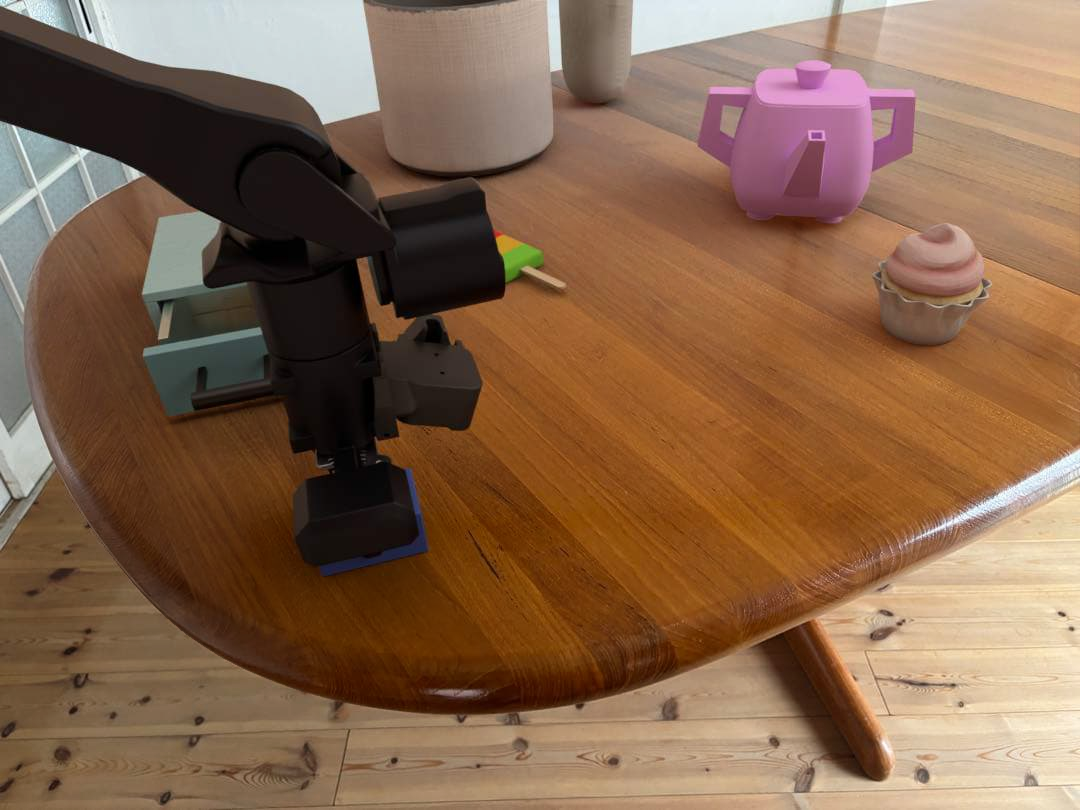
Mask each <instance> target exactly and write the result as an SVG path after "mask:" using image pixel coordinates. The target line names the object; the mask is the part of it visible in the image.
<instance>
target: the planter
mask: <svg viewBox="0 0 1080 810" xmlns="http://www.w3.org/2000/svg"><path fill="white" fill-rule="evenodd" d="M362 4H363V5H362V6H363V11H364V18H365V22H366V29H367V35H368V41H369V46H370V54H371V59H372V66H373V72H374V79H375V85H376V92H377V100H378V107H379V112H380V119H381V125H382V130H383V138H384V143H385V147H386V149H387V153H388V155H389V156H390V158H391V159H393V160H394V161H396V162H397V163H398V164H400V165H401V166H403V167H405V168H407V169H409V170H411V171H414V172H417V173H421V174H425V175H429V176H435V177H436V176H437V177H447V178H468V177H478V176H485V175H490V174H497V173H502V172H506V171H509V170H511V169H515V168H518V167H521V166H523V165H525V164H527V163H529V162H531V161H532V160H534V159H535V158H537V157H539V156H540V155H541V154H542V153H543V152H544V151H546V150H547V148H548V147H550V145H551V143H552V142H553V139H554V124H555V123H554V108H553V107H554V105H553V90H552V89H553V87H552V72H551V71H552V70H551V54H550V38H549V37H550V36H549V19H548V17H549V16H548V0H362Z"/></svg>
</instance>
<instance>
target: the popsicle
mask: <svg viewBox="0 0 1080 810" xmlns="http://www.w3.org/2000/svg"><path fill="white" fill-rule="evenodd" d="M493 230H494V233H495V237H496V242H497V246H498V251H499V252H500V254H501V255H502V257H503V260H504V265H505V278H506V284H507V283H510V282H511V281H513V280H515V279H517V278H520V277H521V276H523V275H527V276H529V277H531V278H534V279H535V280H538V281H540V282H542V283H544V284H546V285H548V286H551V287H553V288H555V289H557V290H563V289H565V288H566V287H567V283H566V282H564V281H562V280H559V279H557V278H555V277H553V276H551V275H549V274H547V273H545V272H542V271H540V270H538V269H537V268H539V267H541V266H542V265H543V264H544V253H543V251H541V250H540V249H537V248H535V247H533V246H531V245H529V244H526V243H524V242H522V241H519V240H517V239H516V238H513V237H510V236H508V235H506V234H504V233H501V232H499V231H497V230H495V229H493Z"/></svg>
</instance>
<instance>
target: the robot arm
mask: <svg viewBox="0 0 1080 810" xmlns="http://www.w3.org/2000/svg"><path fill="white" fill-rule="evenodd" d="M0 122H1V123H5V124H8V125H10V126H14V127H16V128H20V129H23V130H26V131H28V132H32V133H35V134H39V135H41V136H44V137H47V138H50V139H53V140H56V141H59V142H62V143H65V144H68V145H71V146H74V147H78V148H80V149H83V150H86V151H90V152H92V153H96V154H99V155H101V156H104V157H107V158H111V159H113V160H116V161H118V162H120V163H122V164H123V165H125V166H127V167H129V168H132V169H134V170H136V171H138V172H140V174H141V173H142V174H143V175H145V176H147V178H149V179H151V180H152V181H153V182H155V183H156V184H157V185H158V186H160V187H161V188H163V189H165V190H166V191H167V192H169V193H170V194H171V195H173V196H175V197H176V198H177V199H179V201H182V202H183V203H184V204H185V205H187V206H189V207H191V208H193V209H195V210H197V211H201V212H203V213H205V214H207V215H209V216H211V217H213V218H215V219H217V220H219V221H221V222H220V224H219V228H218V232H217V234H216V235H215V237H214V238H213V239H212V240H211V241H210V242H209V244H208V245H207V246H206V247H205V248H204V249H203V250H202V277H203V284H204V285H205V286H206V287H207V288H210V289H215V288H220V287H225V286H230V285H235V284H240V283H245V282H246V283H247V286H248V289H249V293H250V296H251V299H252V302H253V305H254V309H255V312H256V315H257V318H258V322H259V325H260V328H261V331H262V334H263V338H264V341H265V344H266V348H267V351H268V354H269V357H270V378H271V385H272V388H273V391H274V394H275V395H274V397H280V396H281V400H282V403H283V406H284V408H285V412H286V416H287V418H288V420H287V425H288V441H289V445H290V448H291V450H292V454H293V455H296V454H300V453H306V452H309V451H311V452H312V453H313V454H314V456H315V465H316V468H317V470H319V471H326V470H327V471H328V472H329V473H326V474H322V475H316V476H312V477H308V478H305V479H304V480H303V482H302V483H301V484H300V485H299V486H298V488H297V489H296V490H295V491H294V492H293V494H292V511H293V528H294V529H293V531H294V540H295V543H296V546H297V549H298V552H299V555H300V558H301V559H302V560H301V561H302V563H304V564H306V565H307V566H310V567H312V568H319V566H323V565H327V564H331V563H336V562H340V561H344V560H348V559H353V558H357V557H361V556H362V557H363V558H365V559H369V558H373V557H378V556H380V555H381V554H382V551H386V550H391V549H395V548H399V547H403V546H407V545H411V544H412V543H413V542H414V541H415V539H416V538H417V537H418V536H419V530H418V525H417V520H416V516H415V511H414V506H413V502H412V497H411V492H410V488H409V483H408V479H407V474H406V470H404V469H405V468H403V467H400V466H398V465H396V464H394V463H393V460H392V458H391V457H390V456H389V455H386V454H380V453H379V451H378V444H377V441H379V442H382V441H386V440H391V439H395V438H400V432H399V427H398V422H397V421H399V422H400V423H401V424H402V423H403V424H404V425H409V426H423V427H435V428H448V429H449V430H450V431H452V432H453V431H454V432H462V431H463V432H464V431H467V430H468V429H470V427H471V424H472V422H473V419H474V416H475V411H476V408H477V404H478V402H479V398H480V393H481V391H482V388H483V384H484V383H483V382H484V381H483V379H482V376H481V373H480V371H479V368H478V366H477V363H476V361H475V358H474V355H473V353H472V352H471V351H470V350H469V349H467V348H465V347H464V344H463V341H462V340H460V339H455V340H454V343H453V344H452V343H451V340H450V338H449V334H448V331H447V328H446V325H445V322H444V319H443V316H441V314H440V315H439V313H444V312H447V311H452V310H457V309H462V308H465V307H470V306H475V305H479V304H484V303H489V302H493V301H497V300H501V299H502V300H503V298H504V297H505V294H506V286H507V285H506V284H507V283H506V278H505V265H504V260H503V257H502V255H501V254H500V252H499V251H498V246H497V242H496V237H495V233H494V230H495V229H494V227H493V224H492V221H491V220H492V219H491V218H490V217H491V216H490V215H489V213H488V210H487V201H486V192H485V191H484V188H482V186H481V185H480V184H479V182H478V181H477V180H476V179H475V178H473V176H468V177H462V178H458V179H454V180H450V181H448V182H445V183H443V184H441V185H439V186H434V187H430V188H424V189H418V190H414V191H408V192H407V191H406V192H402V193H397V194H391V195H386V196H382V197H381V196H379V197H377V196H376V192H375V191H374V189H373V187H372V185H371V183H370V180H369V179H368V178H366V177H365V175H364V173H362V172H359V171H358V170H357V169H356V168H355V167H354V166H353V165H352V164H350V162H348V161H347V160H346V159H345V158H344V157H343V156H341V155H340V154H339V153H338V152H337V151H336V150H335V149H334V148H333V145H332V143H331V140H330V138H329V136H328V133H327V130H326V128H325V126H324V124H323V122H322V120H321V118H320V115H319V113H317V111H316V110H315V107H313V106H312V105H311V104H310V102H309V101H307V100H306V98H305V97H303V96H302V95H300V94H298V93H296V92H295V91H294V90H292V89H290V88H287V87H284V86H281V85H278V84H273V83H269V82H266V81H265V82H264V81H260V80H257V79H252V78H247V77H243V76H238V75H234V74H229V73H225V72H222V71H216V70H209V69H199V68H198V69H197V68H189V67H188V68H187V67H176V66H168V65H163V64H159V63H153V62H149V61H144V60H141V59H136V58H134V57H132V56H130V55H127V54H124V53H121V52H119V51H116V50H114V49H111V48H109V47H107V46H104V45H101V44H98V43H96V42H93V41H90V40H88V39H87V38H84V37H81V36H78V35H76V34H73V33H70V32H68V31H66V30H63V29H60V28H59V27H55V26H53V25H51V24H48V23H45V22H43V21H40V20H37V19H35V18H32V17H30V16H28V15H25V14H22V13H21V12H17V11H15V10H13V9H9V8H7V7H4V6H2V5H0ZM365 258H366V260H367V264H368V265H367V266H368V267H369V268H368V269H369V273H370V277H371V281H372V285H373V288H374V293H375V296H376V299H377V301H378V304H379V306H380V307H384V306H389V305H391V303H392V307H393V311H394V314H395V318H396V319H400V318H403V320H404V321H408V320H411V319H414V320H413V321H412V322H411V323H410V324H409V325H408V327H407V328H405V330H404V332H403V333H398V335H397V339H396V340H395V341H393V340H380V337H379V333H378V328H377V323H376V322H371V321H370V316H369V312H368V307H367V303H366V298H365V294H364V288H363V285H362V284H363V283H362V278H361V274H360V269H359V265H358V261H357V260H359V259H365Z"/></svg>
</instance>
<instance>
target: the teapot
mask: <svg viewBox="0 0 1080 810" xmlns="http://www.w3.org/2000/svg"><path fill="white" fill-rule="evenodd" d="M916 100H917V97H916V93H915V90H914V89H901V88H899V89H897V88H896V89H894V88H893V89H889V88H886V89H883V88H869V87H868V85H867V83H866V81H865V80H864V78H863V77H862V76H861V74H860V73H858V72H857V71H854V70H853V69H843V68H841V69H840V68H832V64H830V63H828V62H826V61H823V60H816V59H811V60H810V59H809V60H802V61H799V62H796V64H795V67H794V68H792V67H791V68H766V69H764V70H762V71H761V72H760V73H759V74H758V75H757V76H756V77H755V80H754V83H753V84H752V87H748V86H709V90H708V93H707V97H706V103H705V107H704V111H703V115H702V120H701V123H700V124H701V125H700V129H699V133H698V138H697V148H698V149H700V150H702V151H703V152H705V153H706V154H708V155H710V156H711V157H712V158H714V159H715V160H717V161H718V162H720V163H721V164H723V165H724V166H726V167H728V172H729V179H730V182H731V186H732V189H733V193H734V196H735V198H736V201H737V203H738V205H739V206H740V208H741V209H742V210H744V211H745V212H746V216H747V217H748V218H750V219H752V220H759V221H763V220H764V221H766V220H770V219H772V218H774V216H787V217H788V216H789V217H792V216H793V217H814V219H815V220H816V221H818V222H820V223H824V224H825V223H826V224H836V223H840V222H841V221H842V220H843V217H847V216H850V215H852V214H853V213H854V212H855V210H856V209H857V208H858V207H859V206H860V204H861V203H862V201H863V199H864V197H865V195H866V193H867V191H868V189H869V187H870V182H871V177H872V173H874V172H875V171H877V170H880V169H882V168H884V167H886V166H888V165H890V164H892V163H894V162H896V161H898V160H900V159H902V158H904V157H906V156H909V155H910V154H913V147H914V134H915V133H914V132H915V131H914V130H915V116H916ZM724 106H727V107H734V108H743V109H742V111H741V114H740V117H739V119H738V122H737V126H736V129H735V132H734V136H733V137H732V136H731V135H729V134H727V133H725V132H724V131H722V130H721V123H722V117H723V109H724ZM883 110H893V113H892V118H891V126H890V132H889V134H887V135H884V136H883V137H881V138H878V139H876V140H875V133H874V120H873V119H874V118H873V111H883Z"/></svg>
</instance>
